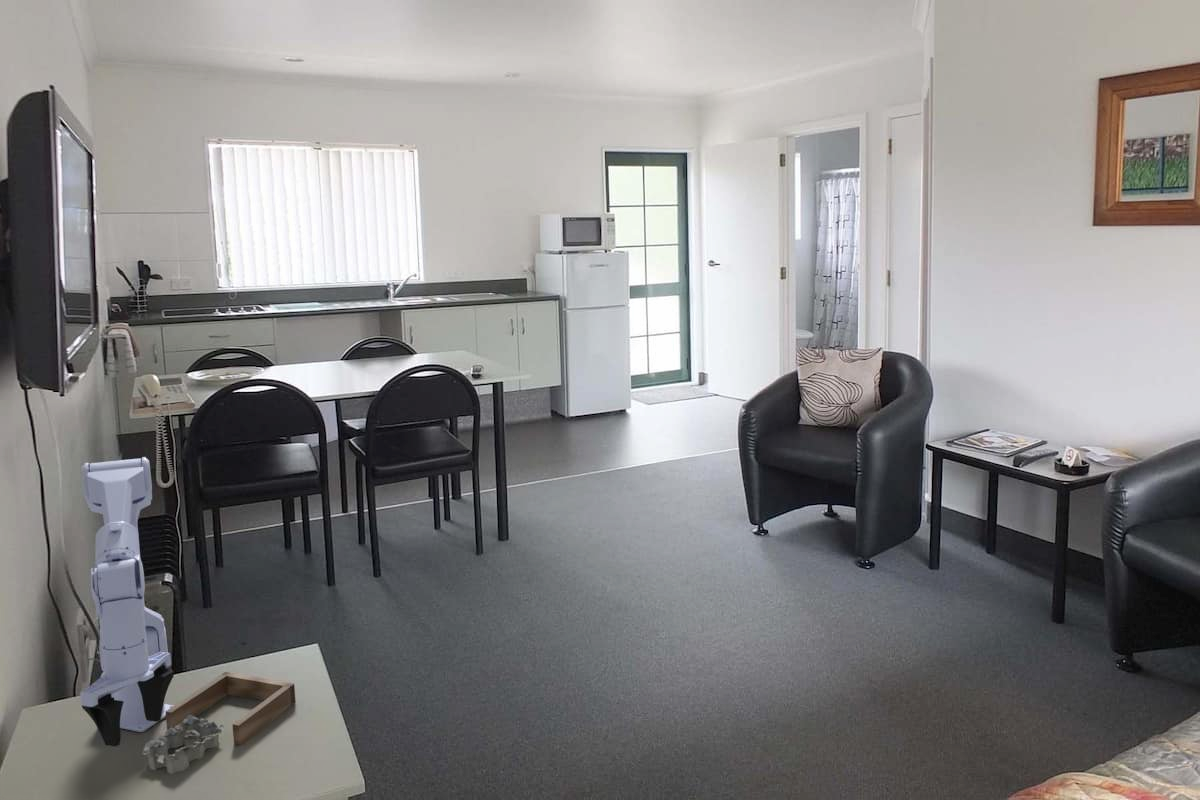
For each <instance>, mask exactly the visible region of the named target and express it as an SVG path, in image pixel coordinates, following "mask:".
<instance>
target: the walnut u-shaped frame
mask: <svg viewBox="0 0 1200 800" xmlns="http://www.w3.org/2000/svg"><path fill="white" fill-rule="evenodd" d="M228 695H230V696H236V697H240V696H241V697H242V698H246V699H251V698H253V699H252V700H257V699H258V700H259V699H260V700H259V701H261V702H260V703H259V704H258V705H256V706H255V707H254V708H252V709H251V710H250V711H248V712H247V713H246V714H244V715H243V716H241V718H239V719H237V720H236V721H235V722H233V723H232V724H231V725H232V735H233V736H232V737H233V745H234V746H242V745H243V744H244V743H247V741H248V740H249V739H251V738H252V737H253V736H254V735H257V733H259V732H260V731H261V730H263V728H265V727H266V726H267V725H269V724H271V722H272V721H274V720H275V719H277V718H278V717H280V715H281V714H282V713H283V714H284V712H286V711H287V710H288V709H289V708H290V707H292V706H293V705H294V704H295V703H296V691H295V683H292V682H287V681H281V680H275V679H269V678H263V677H257V676H252V675H245V674H241V673H234V672H228V671H224V672H223V673H222V674H220V675H219V676H217V677H215V678H214V679H212V680H211V681H209V682H208V683H206V684H204V685H203V686H201V687H199V689H197V690H196V691H193V693H191V694H190V695H188V696H187V697H185V698H183V699H182V700H180V701H179V702H177V703H176V704H175V705H173V707H171V708H170V709H168V710H167V711H165V713H166V717H165V720H166V722H165V723H166V729H167V731H168V730H169V729H170V728H174V727H175V726H176V725H179V724H180V723H181V722H182V721H183V720H184V719H186V717H187V716H188V715H192V716H195V717H196V718H197V716H199V715H201V714H202V713H203V712H204V711H206V710H207V709H209V708H210V707H212V706H213V705H215V704H216V703H218V702H219V701H221V700H222V699H223V698H225V697H226V696H228ZM224 696H225V697H224ZM241 697H240V698H241ZM247 697H248V698H247ZM262 700H264V701H262ZM217 701H218V702H217ZM167 731H166V732H167Z"/></svg>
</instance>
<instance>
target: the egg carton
mask: <svg viewBox="0 0 1200 800" xmlns="http://www.w3.org/2000/svg"><path fill="white" fill-rule="evenodd" d="M223 728H224V725H223V724H220V725H217V724H216V722H215V721H209V720H208V719H204V718H202V717H200V718H198V717H197V716H196V717H195V716H192V715H188V716H187V717H186V719H184V720H183V721H182V722H181V723H180V724H179V725H176V726H175V727H174V728H170V729H169V730H168V731H166V732H164V733H162V734H161V735H159V736H158V737H157V738H155V739H152V740H149V741H148V742H146V744H145V745H144V748H143V750H142V755H144V756H145V755H148V756H147V757H148V764H149V765H148V766H149V769H150V770H153V771H155V770H158V769H160V768H166V771H167V772H166V773H168V774H175V773H177V772H181V771H183V772H184V771H186V770H187V769H188V768H190V762H191V761H193V760H199V759H202V758H203V757H204V756H205V750H207V749H210V748H211V749H212V748H217V747H218V746H219V745H220V741H219V740H220V738H219V737H220V734H222V729H223ZM183 745H184V747H181V746H183ZM179 747H180V748H179ZM176 748H178V749H176ZM169 749H176V750H174V753H173V754H169V751H168V750H169Z"/></svg>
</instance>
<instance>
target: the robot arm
mask: <svg viewBox="0 0 1200 800" xmlns="http://www.w3.org/2000/svg"><path fill="white" fill-rule="evenodd" d="M151 473H152V472H151V464H150V460H149V459H148V458H147V457H146V456H142V457H141V458H132V459H131V458H130V459H121V460H120V459H119V460H109V461H102V462H91V463H90V462H85V463H84V464H83V465H82V466H81V485H82V492H83V497H84V499H85V501H86V505H87V507H88V508H89V509H90V511H91V512H92V513H96V514H100V515H102V518H103V524H104V525H103V526H101V527H100V528H99V529H98V530H97V532H96V534H95V550H94V551H95V554H94V557H95V558H94V559H95V560H94V561H95V564H94V565H95V567H92V568H91V569H90V588H91V594H92V598H93V602H94V606H95V611H96V612H95V613H96V618H99V619H98V622H99V660H100V667H101V670H102V671H103V672H102V673H101V675H100V677H99V679H97V680H96V681H94V682H93V683H92V684H91V685H90V686H88V687H87V688H86V689H83V690H82V691H80V692H79V694H80V704H81V708H82V709H83V710H84V711H85V712H86V714H88V716H89V717H90V718H91V720H92V721H93V723H94V724H95V725H96V727H97V729H98V731H99V734H100V735H101V739H102V740H103V743H104V745H105V746H107V747H108V746H109V747H114V748H116V747H118V746H120V745H121V737H122V736H121V729H123V730H128V731H129V730H130V731H133V732H139V733H143V732H145V731H147V730H148V729H150V728H151V727H152V726H154V725H155V724H157V723H158V722H160V721H162V720H163V719H166V713H165V711H167V710H168V709H170V708H171V707H173V706H174V705H172V704H167V703H165V700H166V699H165V698H166V694H167V691H168V689H169V687H170V685H171V682H172V680H173V678H174V676H175V675H174V669H170V668H169V669H168V667H171V666H172V656H171V652H168V637H167V630H166V627H165V619H164V617H163V616H162V615H161V614H160V613H158V612H157V611H153V610H152V609H150V608H148V607H146V605H145V591H146V587H145V586H146V585H145V584H146V583H145V573H144V567H143V566H144V565H143V562H142V559H141V551H140V550H141V549H140V539H139V538H140V537H139V527H138V520H139V517H140V513H141V510H143V509H145V508H146V507H149V506H151V504H152V500H153V492H152V491H153V484H152V474H151Z"/></svg>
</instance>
